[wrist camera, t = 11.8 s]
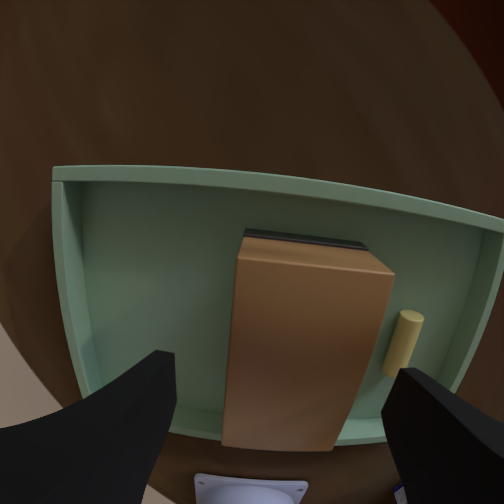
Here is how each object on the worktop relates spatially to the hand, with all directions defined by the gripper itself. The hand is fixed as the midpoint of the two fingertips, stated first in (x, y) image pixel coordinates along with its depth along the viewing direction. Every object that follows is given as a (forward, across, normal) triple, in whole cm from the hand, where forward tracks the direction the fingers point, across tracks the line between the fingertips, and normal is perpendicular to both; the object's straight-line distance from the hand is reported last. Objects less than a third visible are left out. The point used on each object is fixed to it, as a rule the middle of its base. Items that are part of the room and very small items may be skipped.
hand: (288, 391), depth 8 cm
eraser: (+4, 0, 0) cm, 4 cm away
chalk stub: (+3, -5, 0) cm, 6 cm away
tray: (+4, 0, 0) cm, 4 cm away
